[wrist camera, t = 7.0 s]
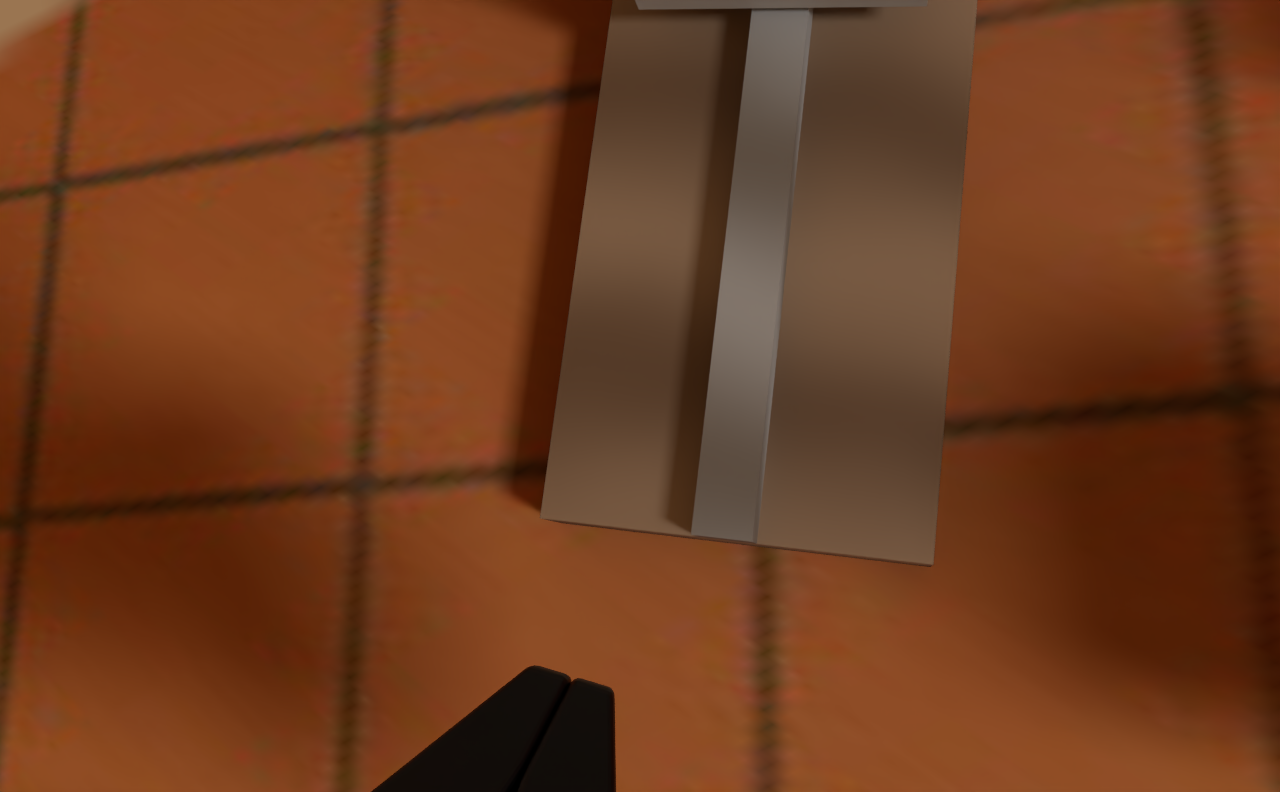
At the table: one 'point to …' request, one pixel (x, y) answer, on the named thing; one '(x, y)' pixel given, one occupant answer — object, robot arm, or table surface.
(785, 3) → the block
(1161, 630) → the table surface
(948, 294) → the track
